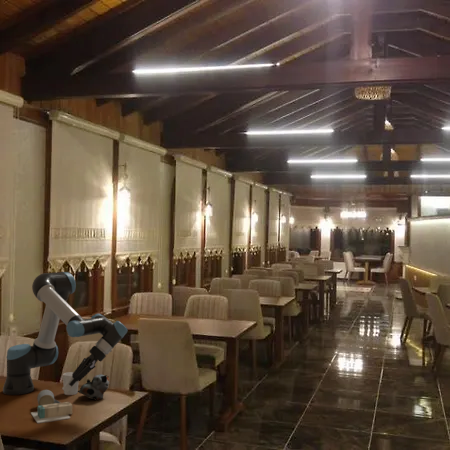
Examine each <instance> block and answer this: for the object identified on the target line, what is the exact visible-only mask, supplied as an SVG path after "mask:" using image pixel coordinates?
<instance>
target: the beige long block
mask: <svg viewBox="0 0 450 450" xmlns="http://www.w3.org/2000/svg"><path fill="white" fill-rule="evenodd" d="M37 412H38V416H39V418H40V419H41V418H48V417H55V416H62V415H72V414H73V404H72V403H71V401H63V402H60V403H55V404H48V405H41V406H39V405H37Z"/></svg>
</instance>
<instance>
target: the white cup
mask: <svg viewBox="0 0 450 450" xmlns="http://www.w3.org/2000/svg"><path fill="white" fill-rule="evenodd" d="M73 373H74V371H70V372H69V371H67V372H64V373H63V374H62V378H63V380H62V381H63V382H62V383H63V385H62V386H64V385H65V384H66V383H67V382H68V381H69V380H70V379H71V378H72V376H73V375H72V374H73ZM79 382H80V381H77V382H76V383H75V384H74V385H73V386H72V388H71V389H70V390H69V391H68V392H67V393H66V392H65V391H64V390H63V394H64V395H66V396H73V395H74V396H75V395H77V394H78V393H79V392H78V391H79V384H80V383H79Z"/></svg>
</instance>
